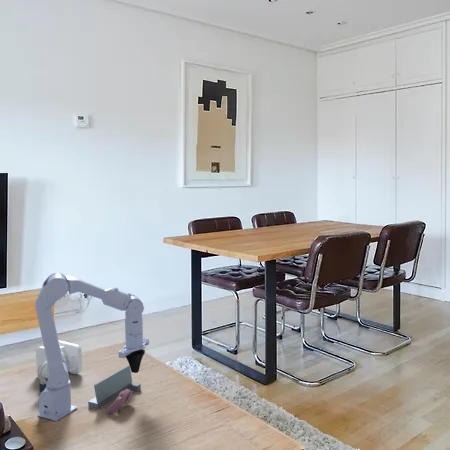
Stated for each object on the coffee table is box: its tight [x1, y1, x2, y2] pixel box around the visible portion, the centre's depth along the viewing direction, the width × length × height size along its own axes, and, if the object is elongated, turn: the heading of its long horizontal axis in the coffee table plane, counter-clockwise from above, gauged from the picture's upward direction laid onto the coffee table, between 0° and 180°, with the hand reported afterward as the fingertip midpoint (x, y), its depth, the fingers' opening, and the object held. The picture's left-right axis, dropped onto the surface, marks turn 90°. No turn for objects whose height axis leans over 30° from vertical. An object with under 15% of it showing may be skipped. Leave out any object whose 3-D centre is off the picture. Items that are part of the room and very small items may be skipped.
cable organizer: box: [35, 339, 83, 379], centre depth 185 cm, size 15×11×12 cm
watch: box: [37, 360, 48, 393], centre depth 171 cm, size 6×8×11 cm
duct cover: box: [93, 364, 133, 403], centre depth 165 cm, size 18×6×1 cm
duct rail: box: [87, 382, 142, 411], centre depth 166 cm, size 18×8×2 cm, turn 155°
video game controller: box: [105, 388, 134, 415], centre depth 158 cm, size 10×5×7 cm, turn 169°
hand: (135, 371), depth 164 cm, fingers closed
